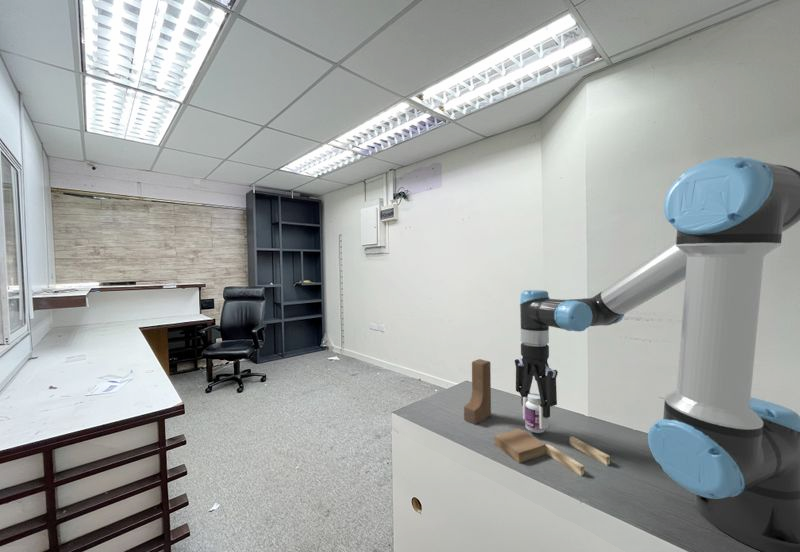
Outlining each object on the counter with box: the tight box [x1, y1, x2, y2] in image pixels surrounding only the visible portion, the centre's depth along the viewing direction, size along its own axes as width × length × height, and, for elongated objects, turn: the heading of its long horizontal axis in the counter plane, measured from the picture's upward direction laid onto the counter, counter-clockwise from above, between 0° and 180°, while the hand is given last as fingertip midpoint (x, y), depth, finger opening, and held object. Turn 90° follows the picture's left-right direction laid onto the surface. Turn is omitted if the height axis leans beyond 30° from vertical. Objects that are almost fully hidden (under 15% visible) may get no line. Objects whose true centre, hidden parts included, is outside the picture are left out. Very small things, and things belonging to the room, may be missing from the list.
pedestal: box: [493, 428, 547, 464], centre depth 82 cm, size 9×9×2 cm
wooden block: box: [463, 358, 492, 425], centre depth 99 cm, size 9×4×18 cm, turn 131°
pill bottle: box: [524, 393, 546, 434], centre depth 89 cm, size 5×5×10 cm
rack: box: [545, 436, 611, 476], centre depth 77 cm, size 10×10×2 cm
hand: (535, 422), depth 89 cm, fingers closed on pill bottle, 5 cm apart
